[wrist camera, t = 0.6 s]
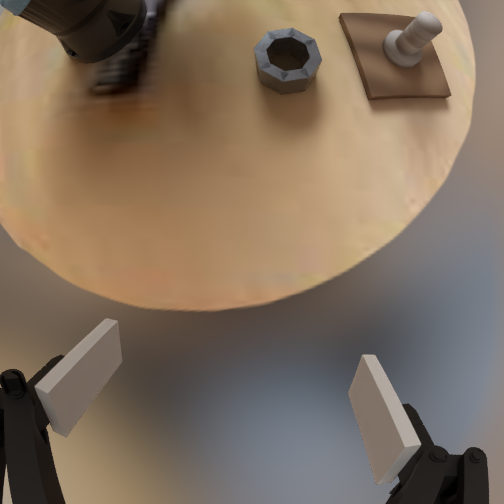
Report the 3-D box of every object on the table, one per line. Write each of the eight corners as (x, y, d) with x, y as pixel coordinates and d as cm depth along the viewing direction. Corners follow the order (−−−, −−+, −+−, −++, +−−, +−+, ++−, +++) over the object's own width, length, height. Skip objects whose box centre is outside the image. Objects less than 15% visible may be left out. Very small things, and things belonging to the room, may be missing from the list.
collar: (252, 51, 32) (249, 34, 27) (305, 43, 31) (309, 26, 26) (265, 97, 33) (264, 84, 28) (320, 88, 33) (327, 75, 28)
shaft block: (338, 17, 30) (357, -26, 18) (416, 21, 28) (448, -11, 17) (368, 99, 32) (402, 71, 21) (446, 97, 31) (491, 79, 20)
